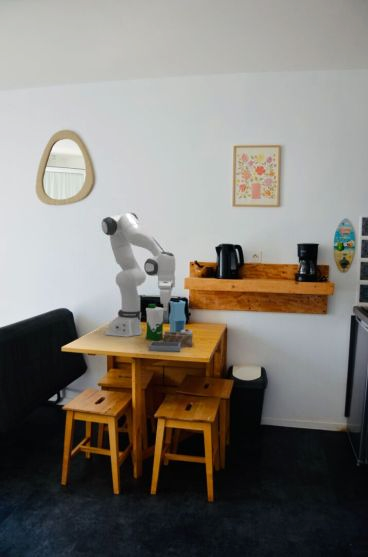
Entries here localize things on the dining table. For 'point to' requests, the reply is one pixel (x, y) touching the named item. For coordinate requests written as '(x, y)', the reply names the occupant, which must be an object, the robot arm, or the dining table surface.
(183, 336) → the tensioner block
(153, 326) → the milk carton
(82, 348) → the dining table surface
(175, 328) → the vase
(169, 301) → the lock pin
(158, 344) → the tray
